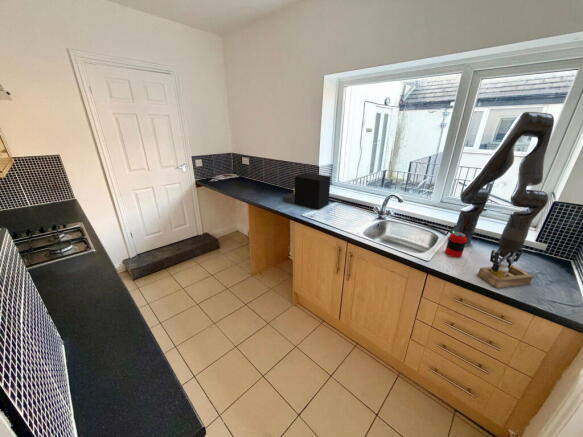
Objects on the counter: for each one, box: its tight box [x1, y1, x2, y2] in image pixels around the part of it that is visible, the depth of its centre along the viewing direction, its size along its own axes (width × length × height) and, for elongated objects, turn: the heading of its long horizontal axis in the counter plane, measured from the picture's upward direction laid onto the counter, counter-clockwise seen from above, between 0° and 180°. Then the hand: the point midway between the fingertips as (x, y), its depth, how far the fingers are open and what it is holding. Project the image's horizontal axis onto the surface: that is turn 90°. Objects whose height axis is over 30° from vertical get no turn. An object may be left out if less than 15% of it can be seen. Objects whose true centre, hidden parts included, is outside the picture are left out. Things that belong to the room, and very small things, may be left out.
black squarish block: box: [282, 172, 332, 211], centre depth 202 cm, size 18×35×24 cm, turn 55°
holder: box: [477, 264, 534, 289], centre depth 110 cm, size 10×17×4 cm, turn 100°
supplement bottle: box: [491, 259, 509, 278], centre depth 108 cm, size 5×5×10 cm
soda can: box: [444, 232, 467, 259], centre depth 128 cm, size 8×8×12 cm
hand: (499, 270), depth 108 cm, fingers closed on supplement bottle, 5 cm apart
